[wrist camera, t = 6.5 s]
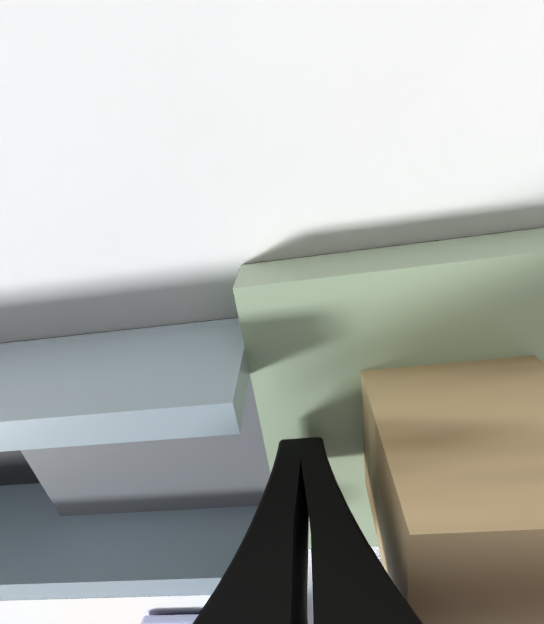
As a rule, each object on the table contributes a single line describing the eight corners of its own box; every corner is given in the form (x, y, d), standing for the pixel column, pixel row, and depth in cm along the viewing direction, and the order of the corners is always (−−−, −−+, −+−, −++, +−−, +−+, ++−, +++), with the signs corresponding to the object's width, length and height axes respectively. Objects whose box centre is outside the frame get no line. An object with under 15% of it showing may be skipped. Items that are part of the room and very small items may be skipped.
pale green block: (510, 494, 16) (586, 616, 12) (-38, 522, 19) (-129, 630, 15) (569, 224, 11) (740, 278, 7) (-203, 319, 13) (-416, 398, 9)
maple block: (509, 474, 13) (631, 662, 8) (365, 482, 13) (404, 664, 9) (534, 355, 10) (720, 521, 6) (360, 370, 11) (410, 535, 6)
